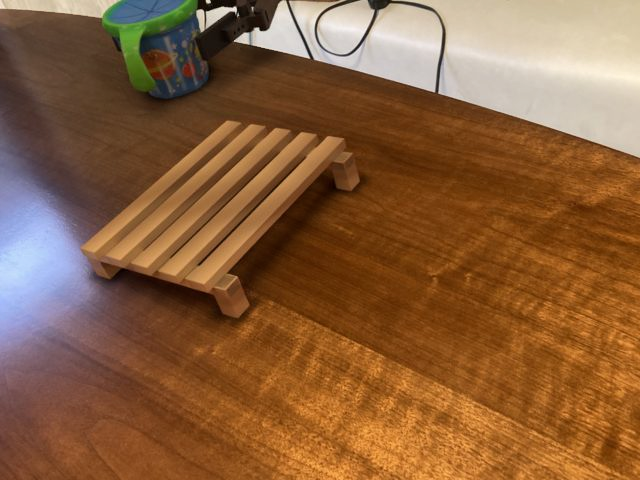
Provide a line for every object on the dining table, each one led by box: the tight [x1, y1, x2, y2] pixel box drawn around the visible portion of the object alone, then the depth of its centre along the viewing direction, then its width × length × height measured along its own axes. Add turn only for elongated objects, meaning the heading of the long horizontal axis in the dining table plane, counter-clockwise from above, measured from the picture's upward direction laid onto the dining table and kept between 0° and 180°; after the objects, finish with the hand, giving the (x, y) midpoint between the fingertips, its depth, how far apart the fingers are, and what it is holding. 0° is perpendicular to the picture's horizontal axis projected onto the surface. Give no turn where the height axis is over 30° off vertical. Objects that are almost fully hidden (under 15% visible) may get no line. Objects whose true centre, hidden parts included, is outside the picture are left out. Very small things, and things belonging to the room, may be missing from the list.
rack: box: [79, 120, 361, 319], centre depth 68 cm, size 16×20×4 cm
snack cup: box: [101, 0, 210, 100], centre depth 89 cm, size 16×10×10 cm
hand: (156, 45), depth 88 cm, fingers open, 13 cm apart
